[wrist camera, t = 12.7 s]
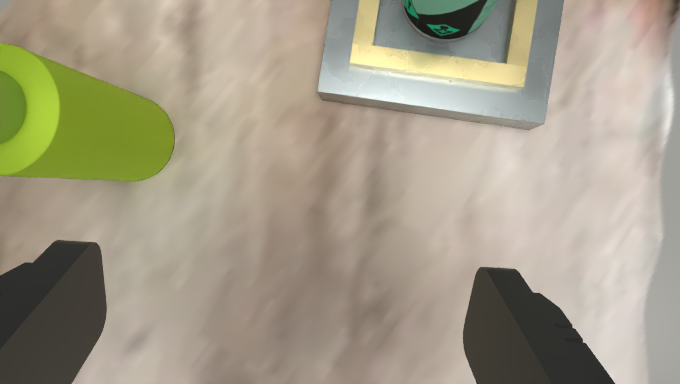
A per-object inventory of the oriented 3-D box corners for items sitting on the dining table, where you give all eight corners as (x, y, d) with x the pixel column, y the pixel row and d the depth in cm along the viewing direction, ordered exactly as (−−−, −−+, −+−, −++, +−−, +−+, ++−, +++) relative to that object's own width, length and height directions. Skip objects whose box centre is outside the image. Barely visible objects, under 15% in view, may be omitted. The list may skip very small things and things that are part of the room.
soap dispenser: (65, 146, 36) (-319, 91, 16) (136, 79, 36) (-166, -63, 16) (120, 208, 36) (-201, 231, 16) (191, 141, 35) (-43, 77, 15)
